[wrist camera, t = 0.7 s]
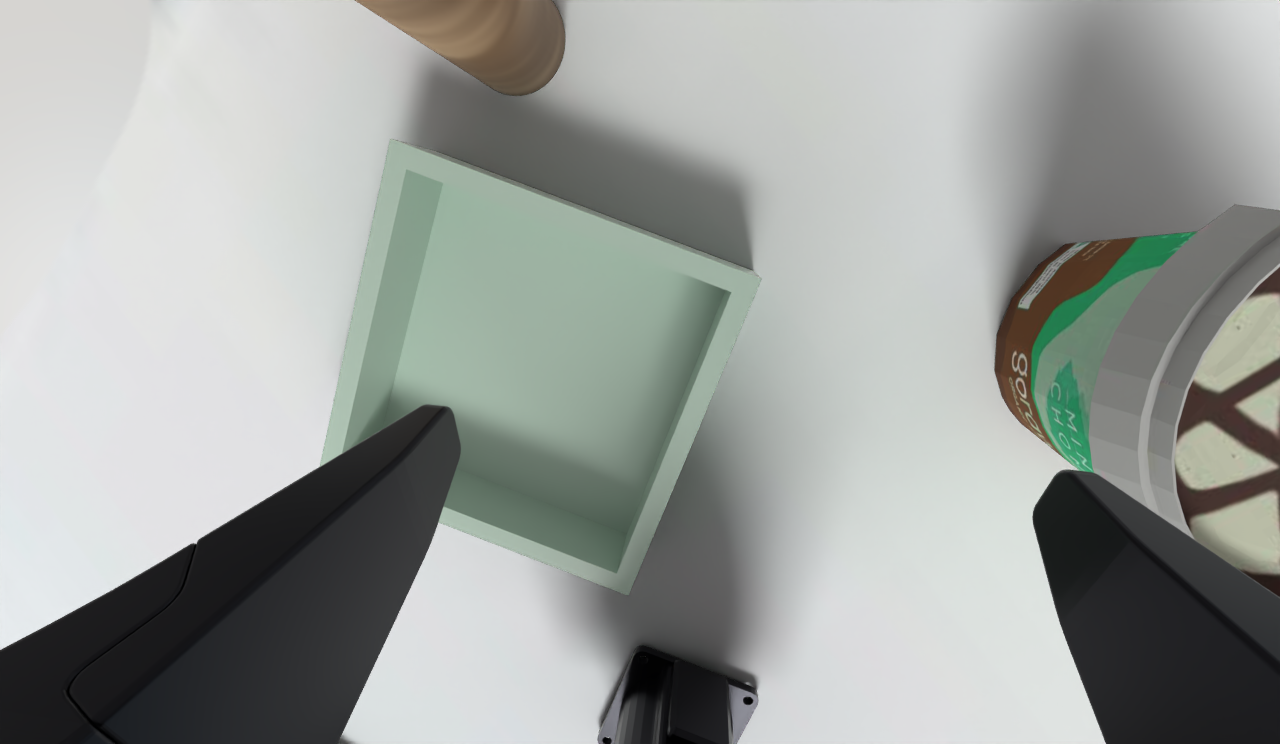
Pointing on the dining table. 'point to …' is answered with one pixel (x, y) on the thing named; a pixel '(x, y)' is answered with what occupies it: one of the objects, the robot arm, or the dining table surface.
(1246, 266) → the food container
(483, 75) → the walnut handle
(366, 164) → the dining table surface
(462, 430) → the box
